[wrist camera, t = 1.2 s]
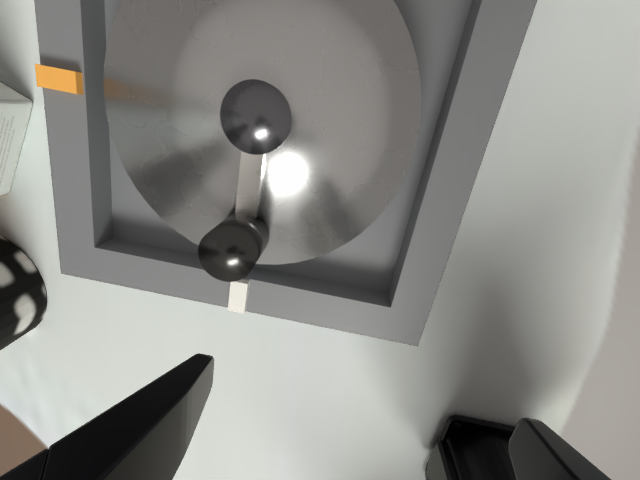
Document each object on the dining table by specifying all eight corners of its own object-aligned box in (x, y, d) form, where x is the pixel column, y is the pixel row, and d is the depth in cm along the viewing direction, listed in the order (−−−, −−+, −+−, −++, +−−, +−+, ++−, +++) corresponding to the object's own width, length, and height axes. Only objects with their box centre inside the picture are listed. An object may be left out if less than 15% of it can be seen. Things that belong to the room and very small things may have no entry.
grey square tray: (536, -84, 14) (591, -144, 11) (408, 315, 21) (419, 350, 18) (77, -169, 14) (-1, -252, 11) (99, 253, 21) (55, 276, 18)
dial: (121, -92, 14) (26, -180, 10) (456, -29, 14) (501, -92, 10) (127, 226, 19) (66, 255, 15) (374, 275, 18) (382, 319, 14)
